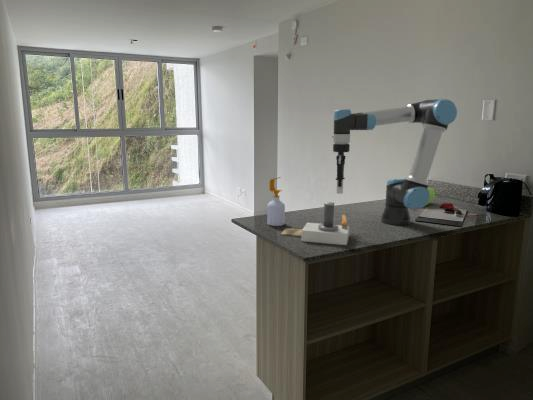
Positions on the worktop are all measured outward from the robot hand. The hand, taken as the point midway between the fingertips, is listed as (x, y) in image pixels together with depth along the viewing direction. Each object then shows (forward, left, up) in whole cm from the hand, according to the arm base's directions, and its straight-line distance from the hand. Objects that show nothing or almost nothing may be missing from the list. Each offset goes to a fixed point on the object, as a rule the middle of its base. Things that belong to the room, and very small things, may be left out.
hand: (339, 193), depth 195 cm
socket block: (+4, +13, -19) cm, 23 cm away
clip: (-3, +5, -12) cm, 14 cm away
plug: (+3, +14, -19) cm, 24 cm away
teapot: (-43, -81, -19) cm, 93 cm away
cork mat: (+20, +8, -19) cm, 29 cm away
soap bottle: (+32, -5, -19) cm, 38 cm away
